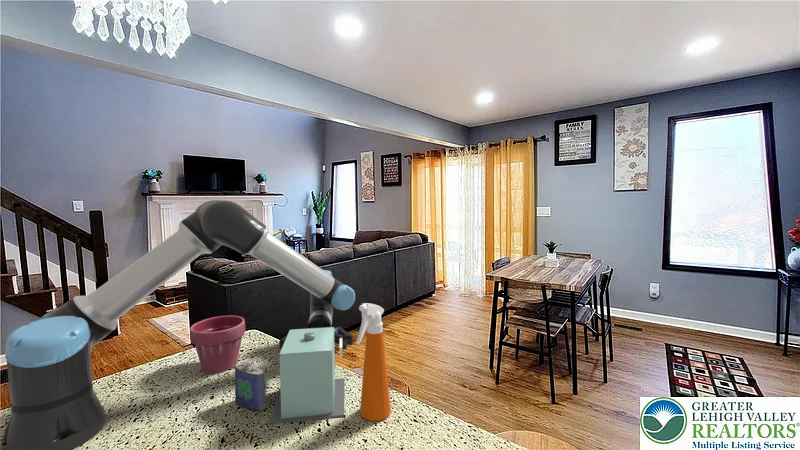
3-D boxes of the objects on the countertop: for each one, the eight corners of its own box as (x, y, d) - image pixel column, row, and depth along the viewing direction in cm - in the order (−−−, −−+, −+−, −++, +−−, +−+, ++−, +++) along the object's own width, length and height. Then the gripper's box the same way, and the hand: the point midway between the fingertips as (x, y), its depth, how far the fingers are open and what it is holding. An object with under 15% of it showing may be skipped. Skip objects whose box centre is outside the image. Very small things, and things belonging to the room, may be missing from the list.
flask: (268, 407, 80) (266, 362, 79) (258, 414, 77) (256, 368, 76) (241, 397, 84) (240, 355, 83) (231, 403, 81) (229, 360, 81)
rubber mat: (269, 424, 74) (268, 422, 74) (282, 384, 89) (282, 383, 89) (344, 416, 76) (344, 414, 76) (344, 379, 92) (344, 378, 92)
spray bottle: (344, 426, 73) (342, 305, 71) (370, 399, 82) (369, 292, 81) (372, 436, 70) (371, 310, 68) (396, 407, 79) (395, 296, 78)
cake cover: (281, 418, 75) (279, 348, 74) (291, 384, 89) (289, 325, 88) (333, 413, 77) (332, 345, 76) (335, 380, 91) (334, 322, 89)
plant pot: (180, 372, 96) (177, 327, 95) (223, 351, 109) (221, 312, 108) (216, 382, 91) (214, 335, 90) (256, 359, 104) (255, 318, 103)
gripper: (358, 334, 112) (362, 364, 91) (279, 339, 108) (264, 372, 87) (358, 311, 111) (362, 337, 90) (278, 316, 107) (263, 344, 86)
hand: (314, 354), depth 89 cm, fingers open, 13 cm apart
